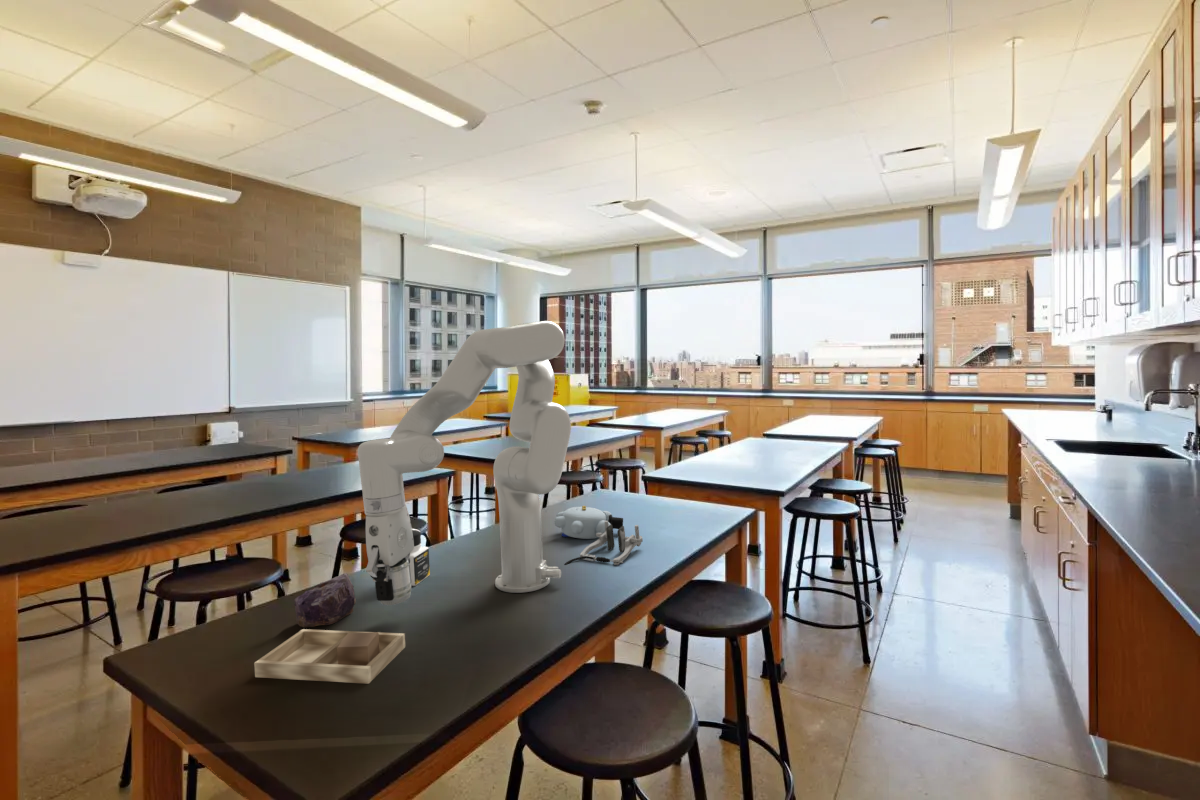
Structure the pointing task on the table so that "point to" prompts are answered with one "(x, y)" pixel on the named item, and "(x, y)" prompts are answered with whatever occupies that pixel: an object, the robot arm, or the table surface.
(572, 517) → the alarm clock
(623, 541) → the bike brake
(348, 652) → the walnut block
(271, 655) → the caddy
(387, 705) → the table surface
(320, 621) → the rock
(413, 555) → the medicine bottle
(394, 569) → the camera lens
